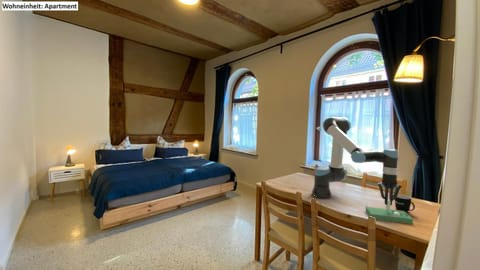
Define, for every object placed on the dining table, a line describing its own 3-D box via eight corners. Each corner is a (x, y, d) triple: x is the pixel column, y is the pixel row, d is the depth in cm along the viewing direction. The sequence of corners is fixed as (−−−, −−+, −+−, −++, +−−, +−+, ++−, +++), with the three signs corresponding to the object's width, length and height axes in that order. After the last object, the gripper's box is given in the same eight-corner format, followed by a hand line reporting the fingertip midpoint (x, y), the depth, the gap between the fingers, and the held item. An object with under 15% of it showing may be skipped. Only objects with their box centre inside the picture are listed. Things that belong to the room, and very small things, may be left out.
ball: (396, 218, 132) (392, 212, 134) (394, 219, 135) (390, 213, 137) (403, 216, 131) (398, 210, 133) (401, 217, 135) (396, 211, 137)
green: (370, 218, 134) (371, 214, 133) (365, 211, 145) (365, 206, 145) (412, 223, 127) (412, 219, 127) (403, 215, 138) (404, 211, 138)
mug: (390, 209, 148) (391, 195, 148) (399, 207, 151) (400, 193, 151) (409, 216, 137) (410, 201, 136) (418, 214, 140) (419, 199, 139)
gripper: (379, 174, 132) (378, 210, 134) (404, 175, 128) (402, 213, 130) (376, 171, 140) (374, 206, 141) (399, 172, 136) (397, 208, 137)
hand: (387, 209), depth 135 cm, fingers closed
